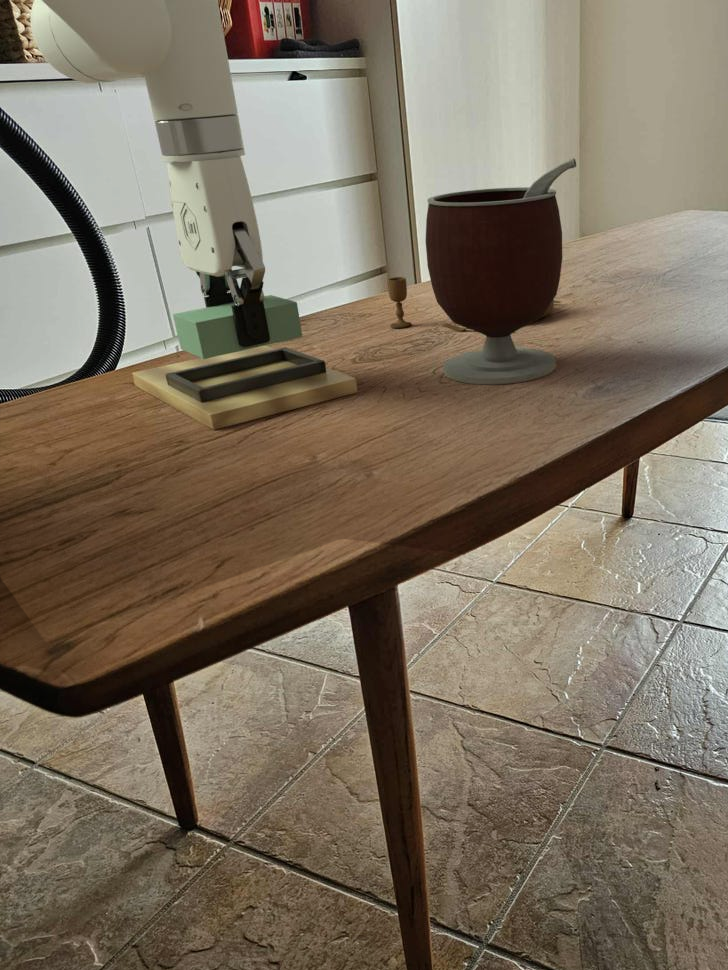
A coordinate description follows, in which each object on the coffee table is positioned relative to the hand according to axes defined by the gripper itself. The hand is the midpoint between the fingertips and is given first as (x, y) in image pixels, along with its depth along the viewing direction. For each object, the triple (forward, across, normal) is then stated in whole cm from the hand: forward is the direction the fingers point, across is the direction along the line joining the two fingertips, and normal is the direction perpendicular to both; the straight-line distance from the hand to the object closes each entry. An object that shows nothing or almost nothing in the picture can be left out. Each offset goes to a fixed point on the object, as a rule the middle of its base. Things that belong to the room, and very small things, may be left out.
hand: (240, 337), depth 93 cm
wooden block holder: (+6, -2, 0) cm, 6 cm away
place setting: (+6, -9, +38) cm, 39 cm away
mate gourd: (+6, +14, +24) cm, 28 cm away
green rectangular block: (+1, 0, 0) cm, 1 cm away
